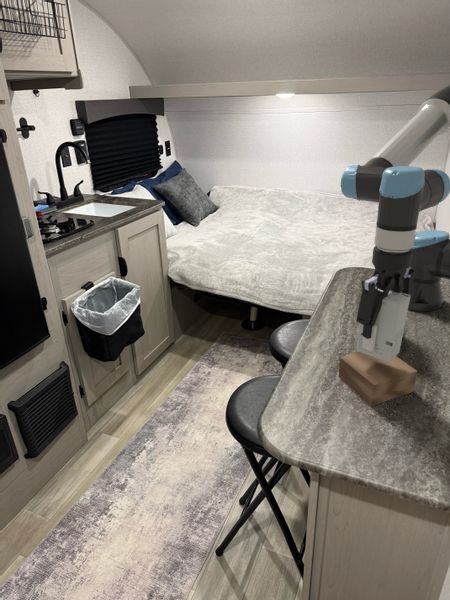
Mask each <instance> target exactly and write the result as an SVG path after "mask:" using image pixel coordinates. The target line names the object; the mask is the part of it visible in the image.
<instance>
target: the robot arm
mask: <svg viewBox="0 0 450 600" xmlns="http://www.w3.org/2000/svg"><path fill="white" fill-rule="evenodd" d="M449 131H450V84H448V85H446V86H445V87H442V88H440V89H439V90H438V91H436V92H434V93H433V94H432V95H430V96H429V97H428V98H427V99H426V100H425V101H423V102H422V103H421V104H420V105H419V106H418V108H417V110H416V114H415V115H414V116H413V117H412V118H411V119H410V120H409V121H408V122H407V123H406V124H405V125H404V126H403V127H402V128H401V129H400V130H399V131H398V132H397V133H396V134H395V135H394V136H393V137H392V138H391V139H389V141H388V142H387V143H385V144H384V145H383V146H382V147H381V149H379V150H378V151H377V152H376V153H375V154H374V155H373V156H372V157H371V158H370V159H369V160H368V161H366V163H365V164H362V165H360V164H356V165H353V164H352V165H350V166H348V167H347V168H346V169H344V170H343V172H342V175H341V178H340V190H341V193H342V195H343V197H346V198H348V199H353V200H357V201H362V202H363V201H364V202H370V203H371V202H372V203H378V207H377V217H376V218H377V219H376V224H375V225H376V227H375V234H374V235H375V236H374V245H375V246H374V247H373V250H372V257H371V262H372V265H373V267H374V272H373V273H372V277H370V278H369V279H366V278H363V279H362V280H361V295H360V299H359V303H358V304H359V306H358V309H357V316H356V320H355V321H356V322H357V323H359V325H360V324H362V325H363V334H362V335H363V344H362V347H363V348H365V349H367V350H368V351H370V352H373V351H374V347H375V339H376V331H377V325H375V322H376V319H377V317H378V314H379V311H380V309H381V306H382V300H383V299H384V298H385V297H387V296H388V294H389V291H390V290H392V291H394V292H397V293H404V294H408V295H410V296H411V297H410V301H409V306H408V311H409V310H410V311H415V312H433V311H437V310H439V309H441V308H442V306H443V303H444V295H443V288H442V284H441V282H442V281H441V280H442V279H445V280H446V279H447V280H449V281H450V233H449V232H447V231H444V230H439V229H438V230H436V229H433V230H432V229H431V230H429V229H428V230H419V231H417V227H418V222H419V220H418V219H419V215H420V212H422V211H424V210H427V209H430V208H434V207H436V206H438V205H439V204H440V203H442V202H444V200H446V199H447V197H448V196H449V195H450V177H449V175H448V174H447V173H446V172H445V171H443V170H441V169H438V168H433V169H431V168H427V169H423V168H421V167H419V166H413V165H412V166H411V164H412V163H413V162H415V160H416V159H417V158H418V157H419V155H421V154H422V153H423V152H424V151H425V149H426V148H427V147H428V146H429V145H430V144H431V143H432V142H433V141H434V140H435V139H436V138H437V137H438V136H442V135H444V134H446V133H448V132H449ZM378 289H380V290H382V291H383V292H382V291H380V290H378ZM408 311H407V315H408V314H409V312H408Z"/></svg>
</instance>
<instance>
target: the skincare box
mask: <svg viewBox="0 0 450 600" xmlns="http://www.w3.org/2000/svg"><path fill="white" fill-rule="evenodd" d="M378 290H380V289H378ZM380 291H382V290H380ZM382 292H383V291H382ZM410 297H411V296H410V295H408V294H404V293H397V292H394V291H392V290H390V291H389V294H388V296H387V297H385V298H384V299H383V300H382V306H381V309H380V311H379V314H378V317H377V319H376V322H375V325H377V331H376V339H375V347H374V351H373V352H370V351H368V350H367V349H365V348H363V347H362V344H363V335H362V334H363V325H362V324H360V323H359V326H358V333H357V340H356V346H355V350H356V352H362V353H365V354H368V355H370V356H373V357H376V358H379V359H381V360H383V361H386V362H390V361H391V360H392V359H393V358H394V357H395V356H396V357H397V355H398V354H399V353H400V351H401V347H402V346H401V345H402V340H403V335H404V331H405V327H406V326H405V325H406V320H407V316H408V314H407V312H408V311H409V310H408V306H409V301H410Z"/></svg>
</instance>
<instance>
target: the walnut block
mask: <svg viewBox="0 0 450 600" xmlns="http://www.w3.org/2000/svg"><path fill="white" fill-rule="evenodd" d="M417 375H418V370H416V369H415V368H413V367H412V366H411V365H409V364H408V363H406V362H405V361H404V360H402V359H400V358H399V357H398V356H397V355H396V356H395V357H394V358H393V359H392V360H391V361H390V362H386V361H383V360H381V359H379V358H376V357H373V356H370V355H368V354H365V353H362V352H359V351H356V352H353V353H350V354H346V355H344V356H341V357H339V368H338V376H337V377H338V378H339V379H340V380H341V381H342V382H343V383H344V384H346V385H347V386H348V387H349V388H350V389H351V390H352V391H353V392H355V393H356V394H357V395H358V396H359V397H360V398H361V399H362V400H363V401H364V402H366V404H368V405H369V407H372V406H375V405H379V404H382V403H384V402H387V401H390V400H393V399H396V398H400V397H402V396H405V395H407V394H411V393H414V392H415V387H416V381H417ZM413 391H414V392H413Z"/></svg>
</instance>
